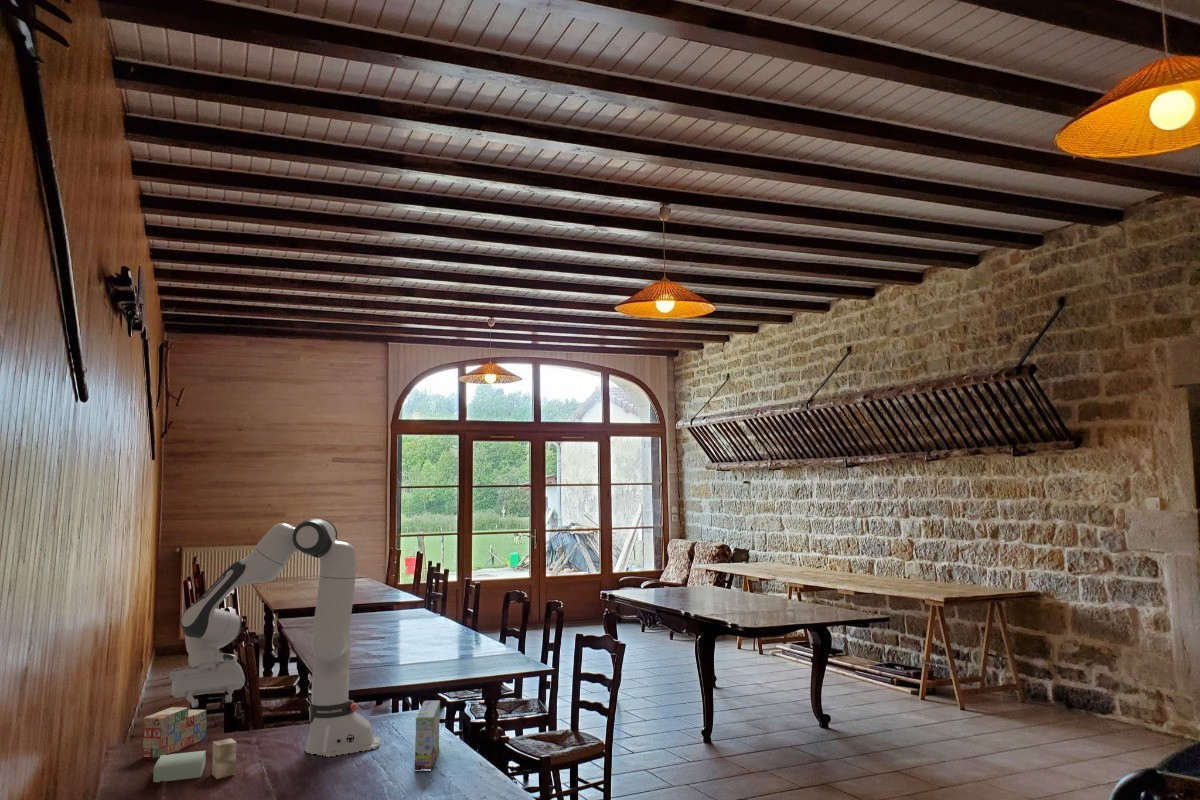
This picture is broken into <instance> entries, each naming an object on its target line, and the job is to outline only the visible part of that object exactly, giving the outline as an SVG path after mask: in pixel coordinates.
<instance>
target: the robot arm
mask: <svg viewBox="0 0 1200 800" xmlns="http://www.w3.org/2000/svg"><path fill="white" fill-rule="evenodd" d="M337 539H338V530H337V528H336V526H335V525H334V524H333V523H332V522H331V521H330V520H326V519H321V518H311V519H306V520H303V521H301V522H300V523H299V524H297V526H293V525H291V524H289V523H286V522H285V523H284V522H279V523H276V524H274V525H273V526H272V527H271V528H270V529H269V530H268V531H266V534H264V535H263V536H262V537H261V539H260V540H259V541H258V543H257V544H256V546H255V547H254V548H253V550H251V552H250V553H249V554H248V555H247V556H245V557H243V559H240V560H239V561H235V562H233V563H232V564H231V565H230V566H229V567H227V568H226V570H224V571H223V573H221V574H220V576H219V577H217V579H216V580H215V581H214V582H213V583H212V585H210V587H208V589H207V590H206V591H204V593H203V594H202V595H201V597H200V598H199V599H197V600H196V601H195V602H194V603H192V604H191V605H190V606H189V607H188V608H186V610H185V611H184V612H183V614H182V616H181V617H180V626H181V629H182V632H183V633H184V640H185V641H184V642H185V648H186V649H185V650H186V652H187V654H188V665H189V666H184V667H176V668H174V669H172V670H171V671H170V672H169V675H168V676H169V680H170V681H171V682H172V683H171V695H172V697H174V698H176V699H177V698H178V699H179V698H186V699H185V700H187V701H188V702H189V703H190V704H191V708H198V706H199V699H198V698H196V699H195V697H194V696H200V695H205V694H207V695H208V694H215V693H222V692H227V694H226V695H225V697H224V700H225V704H227V703H232V701H233V696H232V694H233V693H234V691H237V690H241V689H242V688H243V686H244V684H245V682H246V677H245V674H244V671H243V668H242V666H241V664H239V662H238V656H237V655H235V654H231V653H225V652H220V649H222V648H224V647H226V646H227V645H229V644H231V643H232V642H234V641H235V640H236V639H237V638H238V636H239V635H240V633H241V630H242V619H241V617H240V616H239V614H237V613H233V612H232V611H231V612H230V611H227V610H225V609H224V610H223V609H220V608H218V606H219V605H220V604H222V602H223V601H224V600H225V598H226V597H227V596H228V595H229V594H230V593H231V592H232V591H234V590H235V589H236V588H238V587H241V586H245V585H251V584H266V583H268V582H271V581H273V580H275V579H276V578H277V577H278V576H279V575H280V574H281V572H283V570H284V568H285V567H286V566H287V564H288V563H289V561H290V560H291V559H292V556H293V555H295V553H297V552H298V551H300V552H301V553H303V554H306V555H308V556H311V557H312V558H313V557H314V558H316V559H319V560H320V571H319V581H318V589H317V599H316V605H315V611H314V617H313V624H312V625H313V626H312V632H311V639H310V641H311V642H310V648H311V650H312V652H313V661H312V665H313V666H312V674H311V702H310V704H309V705H310V706H309V714H308V715H309V718H308V719H309V722H310V724H309V726H310V727H309V731H308V738H307V743H306V746H305V749H304V752H305V751H306V752H305V753H307V754H309V753H310V755H313V754H317V755H316V756H322V755H323V757H325V756H326V757H327V758H330V757H331V756H332V757H337V756H336V755H338V756H343V754H344V755H349V754H348V753H350V754H354V753H355V752H356V753H360V752H359V751H362V752H366V750H367V751H372V750H371V749H373V750H376V749H378V748H380V746H381V739H380V737H379V736H377V735H375V734H374V731H373V727H372V725H371V722H370V721H369V720H368V719H366V718H364V717H363V716H362V715H360V714H359V713H357V712H356V710H357V708H358V706H357V703H356V702H355V701H354V700H353V699H349V683H350V682H349V680H350V678H349V676H350V674H349V673H350V655H351V654H350V653H351V630H350V628H351V621H352V614H353V612H352V611H353V610H352V609H353V605H354V594H355V585H356V577H357V576H356V574H357V558H356V557H357V556H356V549H355V547H354V545H352V544H351V543H349V542H345V541H340V540H337ZM377 747H378V748H377ZM341 754H342V755H341Z"/></svg>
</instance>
